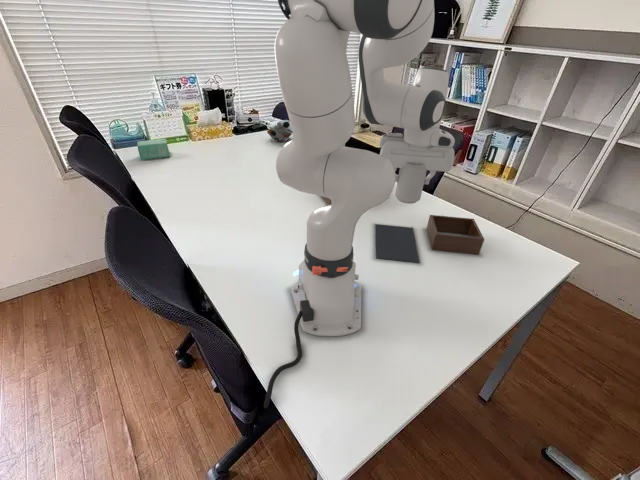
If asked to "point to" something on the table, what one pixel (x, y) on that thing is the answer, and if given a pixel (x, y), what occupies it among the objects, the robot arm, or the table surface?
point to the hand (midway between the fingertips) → (410, 182)
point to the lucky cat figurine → (281, 131)
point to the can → (410, 183)
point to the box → (153, 149)
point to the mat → (396, 243)
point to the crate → (454, 242)
